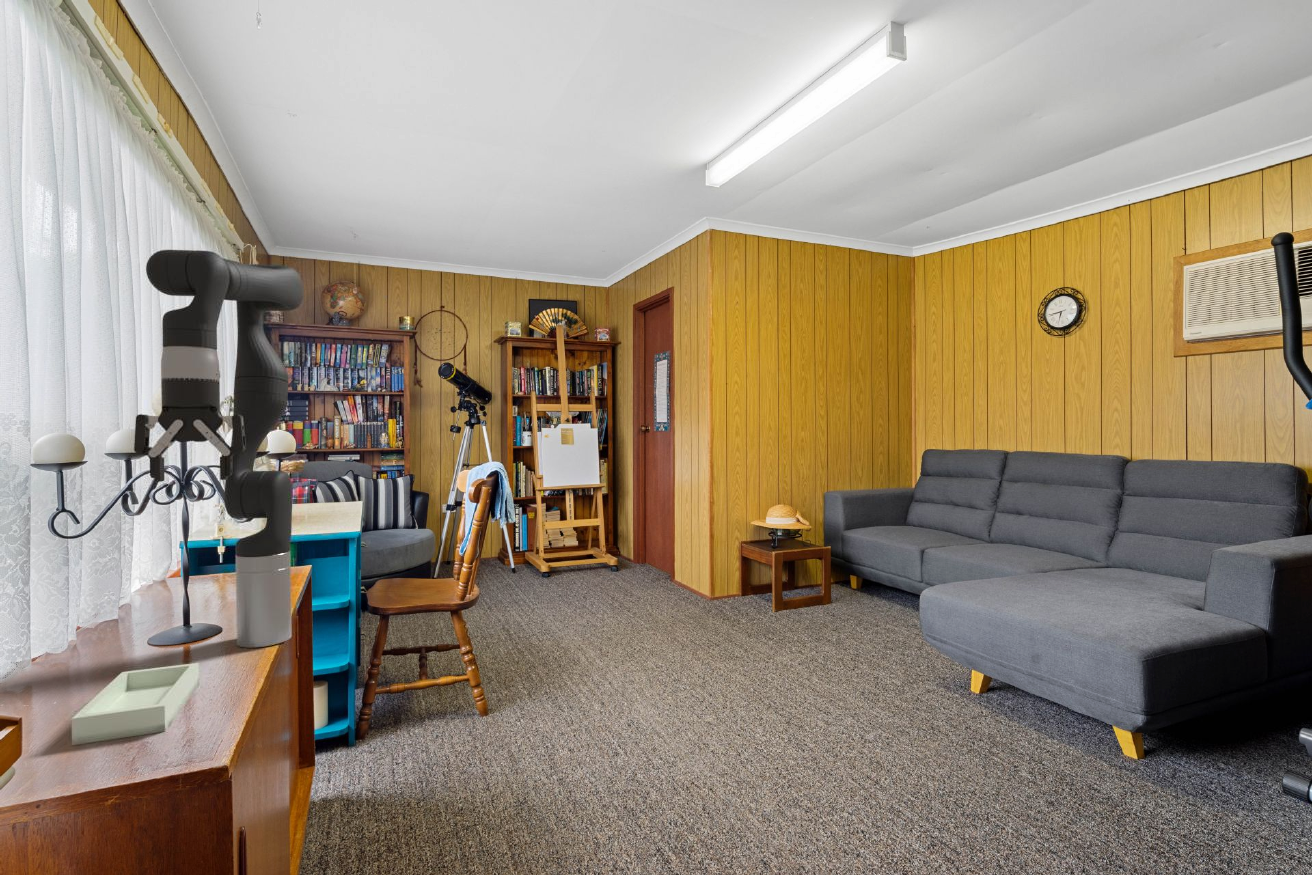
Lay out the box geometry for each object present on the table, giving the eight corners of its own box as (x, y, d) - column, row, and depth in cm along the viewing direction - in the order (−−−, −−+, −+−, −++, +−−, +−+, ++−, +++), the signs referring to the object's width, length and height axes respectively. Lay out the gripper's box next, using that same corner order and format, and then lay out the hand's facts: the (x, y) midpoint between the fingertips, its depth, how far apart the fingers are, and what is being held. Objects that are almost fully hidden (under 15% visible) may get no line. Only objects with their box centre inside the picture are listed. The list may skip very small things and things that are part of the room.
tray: (122, 694, 102) (122, 671, 102) (199, 684, 106) (198, 662, 106) (71, 745, 85) (71, 718, 85) (165, 731, 89) (164, 705, 89)
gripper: (126, 374, 97) (128, 484, 97) (238, 377, 103) (240, 480, 103) (143, 378, 104) (145, 480, 104) (248, 380, 110) (249, 477, 110)
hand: (192, 480), depth 104 cm, fingers open, 8 cm apart
